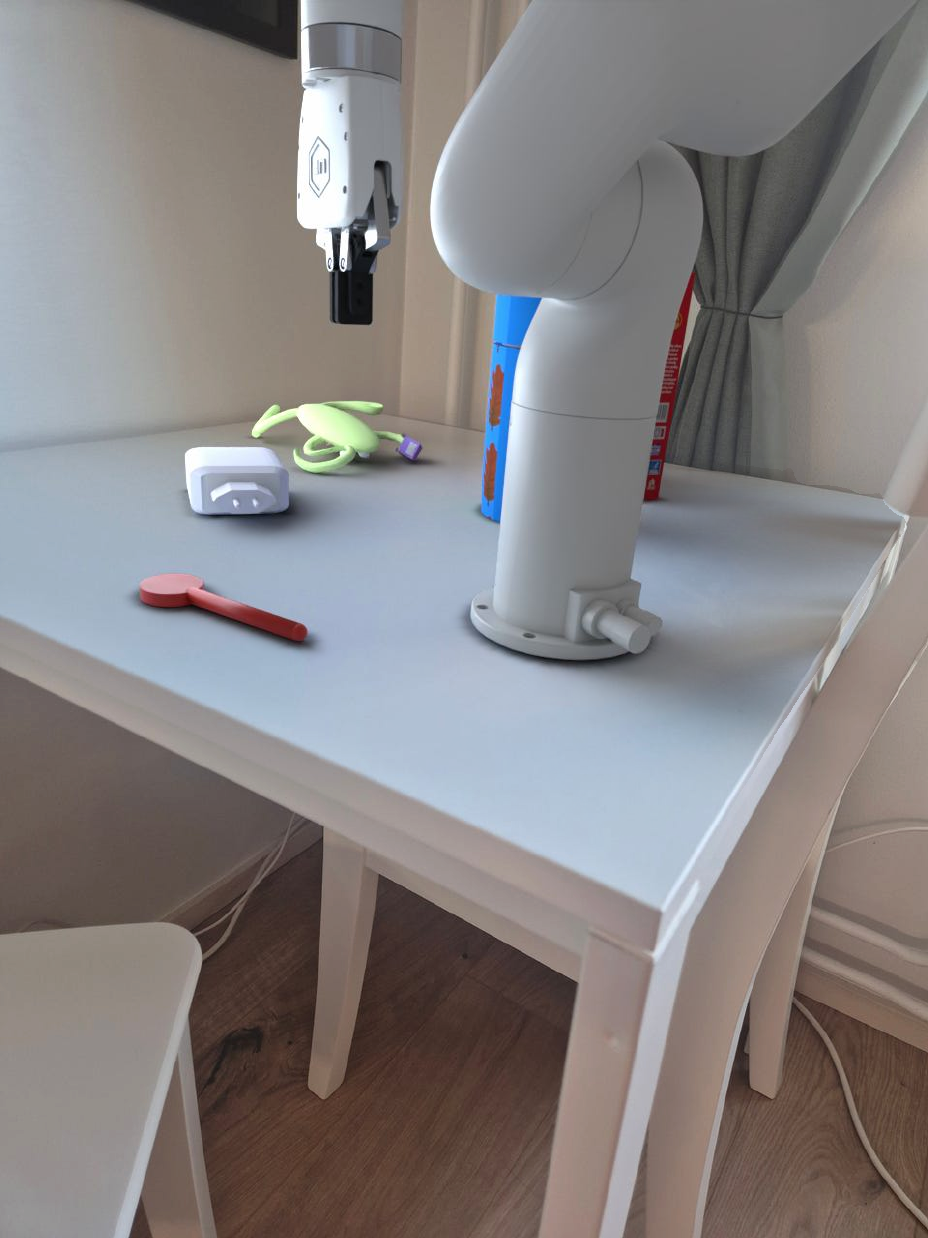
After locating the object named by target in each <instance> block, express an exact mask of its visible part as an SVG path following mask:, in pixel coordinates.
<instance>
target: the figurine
mask: <svg viewBox="0 0 928 1238" xmlns="http://www.w3.org/2000/svg"><path fill="white" fill-rule="evenodd" d="M344 410H349V411H350V410H351V411H356V412H359V413H362V414H365V415H369V416H378V415H381V414H382V412H383V411H384V405H383V404H381V403H379V402H373V401H363V400H339V401H325V402H322V403H304V404H302V405H300V406H298V408H290V409H287V410H285V411H282V408H281V407H280V405H278V404H274V405H272V406H271V407H269V408H268V409H267V410H266V411H265V412H264V414H263V415H262V417H260V418H259V420H258V421H257V422H256V423H255V424H254V426H253V428H252V430H251V436H252V437H254V438H259V437H260V436H261V434H264V433H265V432H266V431H268V430H270V428H272V427H274V426H277V425H278V424H280V423H283V422H286V421H289V420H291V419H295V418H298V420H299V422H300V423H301V424H302V426H303V427H305V428H306V429H307V430H308V432H309V433H311V434H312V435H314V436H312V437H310V438H309V439H308V440H307V441H306V442H305V444H304V445H303V454H304V455H306V456H309V457H318V456H323V455H328V454H332V453H337V452H338V453H339V456H338V457H336V458H335V459H330V460H327V461H322V462H311V461H307V460H305V459H303V458H302V457H301V454H300V450H299V448H298V447H295V448H294V449H293V454H292V455H293V459H294V463H295V464H296V465H297V466H298V467H299V468H300V469H302V470H304V471H307V472H309V473H316V474H317V473H325V472H331V471H334V470H337V469H340V468H343V466H344V467H345V465H347V464H348V463H350V462H351V461H352V460H354V459H355V456H356V453H357V454H358V456H359V457H360V458H362V459H369V457H370V454H371V453H373V452H377V450H379V449H380V447H381V440H387V441H395V442H398V443H400V445H399V447H396V448H395V449H394V451H395V452H396V453H398V454H399V455H401V456H403V457H404V458H408V459H410V460H412V461H415V462H416V460H417V459H418V457H419V455H420V453H421V452H422V449H423V446H422V444H421V443H419V442H418V441H417V440H414V438H413V439H412V438H411V437H409V436H408V435H407V434H406V433H404V432H403V433H401V434H399V433H396V432H391V431H380V430H374V429H373V428H372V427H371V426H370V425H368V424H367V422H365V421H364V420H362V419H360V418H358V417H357V416H355V415H353V414H351V413H350V412H347V411H344ZM324 442H325V443H327V444H326V446H328V445H332V446H331V447H328V448H327V447H326V448H322V449H317V450H314V449H315V447H317V446H318V445H320V444H321V443H324Z"/></svg>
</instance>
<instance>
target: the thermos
mask: <svg viewBox="0 0 928 1238" xmlns="http://www.w3.org/2000/svg"><path fill="white" fill-rule="evenodd" d="M541 300H542V298H536V297H517V296H506V295H499V294H496V299H495V310H494V323H493V324H494V325H493V334H492V335H493V337H492V340H493V343H492V348H491V361H490V374H489V386H488V398H487V399H488V400H487V410H486V411H487V412H486V423H485V424H486V425H485V434H484V435H485V436H484V448H483V461H482V474H481V508H480V509H481V510H480V511H481V513H482V514H483V516H484V517H486V518H488V519H490V520H491V521H494V522H497V523H500V521H501V510H502V499H503V488H504V477H505V466H506V456H507V445H508V434H509V423H510V412H511V401H512V395H513V385H514V377H515V370H516V365H517V360H518V356H519V353H520V349H521V346H522V343H523V340H524V337H525V335H526V332H527V330H528V328H529V326H530V323H531V321H532V319H533V317H534V315H535V313H536V311H537V308H538V306H539V304H540V302H541Z"/></svg>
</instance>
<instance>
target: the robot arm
mask: <svg viewBox="0 0 928 1238" xmlns="http://www.w3.org/2000/svg"><path fill="white" fill-rule="evenodd" d="M918 1H919V0H531V1H530V2H529V4H528V6H527V8H526V10H525V11H524V12H523V14H522V16H521V17H520V19H519V21H518V22H517V24H516V25H515V26H514V29H512V32H511V34H510V35H509V36H508V38H507V40H506V42H505V43H504V44H503V46H502V48H501V50H500V51H499V53H498V54H497V56H496V57H495V59H494V60H493V62H492V65H491V66H490V67H489V69H488V71H487V72H486V74H485V75H484V77H483V78H482V80H481V82H480V84H479V85H478V86H477V88H476V90H475V92H474V93H473V95H472V96H471V98H470V99H469V101H468V103H467V105H466V106H465V108H464V109H463V111H462V113H461V115H460V116H459V118H458V120H457V122H456V123H455V125H454V127H453V129H452V131H451V132H450V135H449V137H448V138H447V141H446V143H445V145H444V147H443V150H442V152H441V155H440V158H439V161H438V164H437V166H436V170H435V173H434V178H433V182H432V187H431V194H430V195H431V196H430V203H429V204H430V205H429V206H430V207H429V214H430V215H429V216H430V226H431V232H432V237H433V241H434V244H435V247H436V250H437V252H438V254H439V257H440V258H441V259H442V261H443V262H444V264H445V265H446V267H447V268H448V269H449V270H450V272H451V273H452V274H454V276H456V277H457V278H458V279H459V280H461V281H462V282H464V283H465V284H467V285H468V286H471V287H473V288H474V289H476V290H480V291H482V292H484V293H485V292H486V293H489V294H493V295H497V294H499V295H506V296H517V297H536V298H542V300H541V302H540V304H539V306H538V308H537V311H536V313H535V315H534V317H533V319H532V321H531V323H530V326H529V328H528V330H527V332H526V335H525V337H524V340H523V343H522V346H521V349H520V353H519V356H518V360H517V365H516V370H515V377H514V385H513V395H512V401H511V412H510V423H509V434H508V445H507V456H506V466H505V477H504V488H503V499H502V510H501V521H500V522H499V533H498V543H497V555H496V566H495V574H494V575H495V576H494V585H492V586H489V587H487V588H485V589H483V590H481V591H480V592H479V593H477V594H476V595H475V596H474V597H473V599H472V601H471V605H470V606H471V607H470V620H471V623H472V625H473V626H474V627H475V629H476V630H477V631H478V632H479V633H480V634H482V635H483V636H484V637H486V638H488V640H491V641H492V642H494V643H496V644H498V645H500V646H504V647H506V648H508V649H511V650H514V651H517V652H520V653H524V654H527V655H532V656H537V657H542V658H547V659H556V660H565V661H566V660H567V661H589V660H590V661H593V660H602V659H608V658H615V657H617V656H622V655H625V654H627V653H629V652H630V653H632V654H633V655H637V654H640V653H642V652H643V651H645V650H646V649H647V648H648V646H649V645H650V642H651V638H652V637H655V636H656V635H658V634H659V633H660V631H661V630H662V627H663V619H662V618H661V617H660V616H658V615H656V614H654V613H652V612H650V611H648V610H644V609H641V608H640V605H639V601H640V596H641V589H642V582H639V581H637V580H634V579H632V573H633V566H634V562H635V561H634V560H635V554H636V547H637V542H638V535H639V530H640V523H641V517H642V511H643V503H644V500H643V498H644V492H645V486H646V479H647V473H648V467H649V461H650V454H651V448H652V442H653V435H654V429H655V423H656V416H657V414H658V408H659V402H660V396H661V390H662V384H663V378H664V372H665V367H666V361H667V357H668V352H669V347H670V342H671V338H672V334H673V330H674V326H675V322H676V319H677V316H678V312H679V309H680V306H681V303H682V300H683V297H684V294H685V291H686V288H687V285H688V282H689V279H690V276H691V273H693V270H694V267H695V263H696V260H697V256H698V252H699V249H700V245H701V240H702V233H703V225H704V203H703V196H702V192H701V188H700V184H699V182H698V179H697V177H696V175H695V172H694V171H693V169H692V167H691V166H690V164H689V162H688V161H687V160H686V159H685V157H684V156H683V155H682V154H681V153H680V152H679V151H678V150H677V149H676V148H675V147H674V146H672V144H673V145H676V146H680V147H683V148H688V149H691V150H695V151H697V152H702V153H707V154H710V155H715V156H721V157H735V158H736V157H737V158H738V157H746V156H752V155H755V154H758V153H760V152H762V151H765V150H767V149H769V148H772V147H773V146H774V145H776V144H778V143H779V142H780V141H781V140H782V139H783V138H785V137H786V136H787V135H788V134H789V133H790V132H792V131H793V130H794V128H796V127H797V126H798V125H799V124H800V123H801V122H802V121H803V120H804V119H805V118H806V117H807V116H808V115H809V114H810V113H811V112H812V111H813V110H814V109H815V108H816V107H817V106H818V105H819V104H820V102H821V101H823V100H824V99H825V97H827V95H828V94H829V93H830V92H831V91H832V90H833V89H834V88H835V87H836V85H838V84H839V83H840V81H842V79H843V78H845V76H846V75H847V74H848V73H849V72H850V71H851V70H852V69H853V68H855V66H856V65H857V64H858V63H859V62H860V61H861V60H862V58H864V57H865V56H866V55H867V54H868V53H869V51H871V50H872V49H873V47H875V46H876V44H877V43H878V42H879V41H880V40H881V39H882V38H883V37H884V36H885V35H886V34H887V33H888V32H889V31H890V30H891V29H892V28H893V27H894V26H895V25H896V24H897V23H898V22H899V21H900V20H901V18H903V16H904V15H905V14H906V13H907V12H908V11H909V10H910V9H911V8H912V7H913V6H914V5H915V4H916V3H917V2H918ZM300 21H301V23H300V24H301V25H300V26H301V28H300V29H301V33H300V36H301V37H300V40H301V42H300V43H301V44H300V46H301V48H300V49H301V86H302V87H303V88H304V89H305V90H304V91H303V96H302V104H301V111H300V121H299V131H298V133H299V134H298V152H297V154H298V155H297V181H296V183H297V185H296V186H297V187H296V188H297V189H296V191H297V192H296V193H297V195H296V196H297V197H296V198H297V199H296V213H297V214H296V215H297V221H298V222H299V224H300V225H301V226H302V227H303V228H304V229H309V230H316V237H315V238H316V245H317V246H319V247H321V248H322V249H323V250H324V251H325V258H326V268H327V270H328V273H329V278H328V279H329V280H328V281H329V321H330V322H331V323H332V324H338V325H347V326H348V325H353V326H354V325H355V326H370V325H372V324H373V321H374V319H373V318H374V317H373V316H374V314H373V313H374V274H375V273H376V271H377V266H378V265H377V264H378V254H379V252H380V251H381V250H382V249H384V248H386V247H387V246H389V245H390V243H391V241H392V239H391V238H392V237H391V236H392V235H391V231H392V229H394V228H396V227H397V226H398V224H400V221H401V219H402V213H403V202H404V201H403V200H404V141H403V139H404V137H403V135H404V134H403V119H402V107H401V106H402V105H401V98H400V96H401V94H402V74H403V73H402V70H403V69H402V68H403V66H402V65H403V31H404V30H403V25H404V0H300Z"/></svg>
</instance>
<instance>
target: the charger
mask: <svg viewBox="0 0 928 1238" xmlns="http://www.w3.org/2000/svg"><path fill="white" fill-rule="evenodd" d="M184 461H185V477H186V478H185V479H186V480H185V481H186V488H187V492H188V498H189V502H190V507H191V510H193V511H194V512H195V513H197V514H199V515H200V514H201V515H206V516H217V515H218V516H219V515H220V516H221V515H223V516H224V515H257V514H258V515H259V514H260V515H261V514H267V515H268V514H279V513H281V512H284V511H286V510H287V509H288V508H289V506H290V474H289V472H288V470H287V468H286V467H285V465H284V463H283V462H282V461H281V459H280V457H279V456H278V455H277V453H276V452H275V451H274V450H273V449H271V448H267V447H262V446H261V447H260V446H197V447H193V448H191V449H188V450H187V451H186V452H185V454H184Z"/></svg>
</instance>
